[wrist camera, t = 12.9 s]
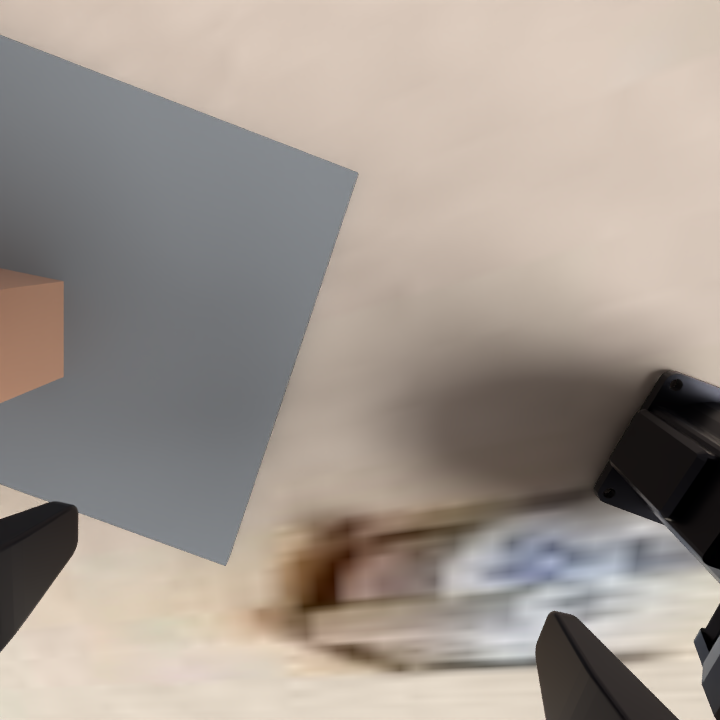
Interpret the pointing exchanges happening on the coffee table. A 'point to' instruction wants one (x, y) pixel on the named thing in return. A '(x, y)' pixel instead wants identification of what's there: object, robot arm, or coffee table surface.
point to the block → (30, 332)
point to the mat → (155, 296)
